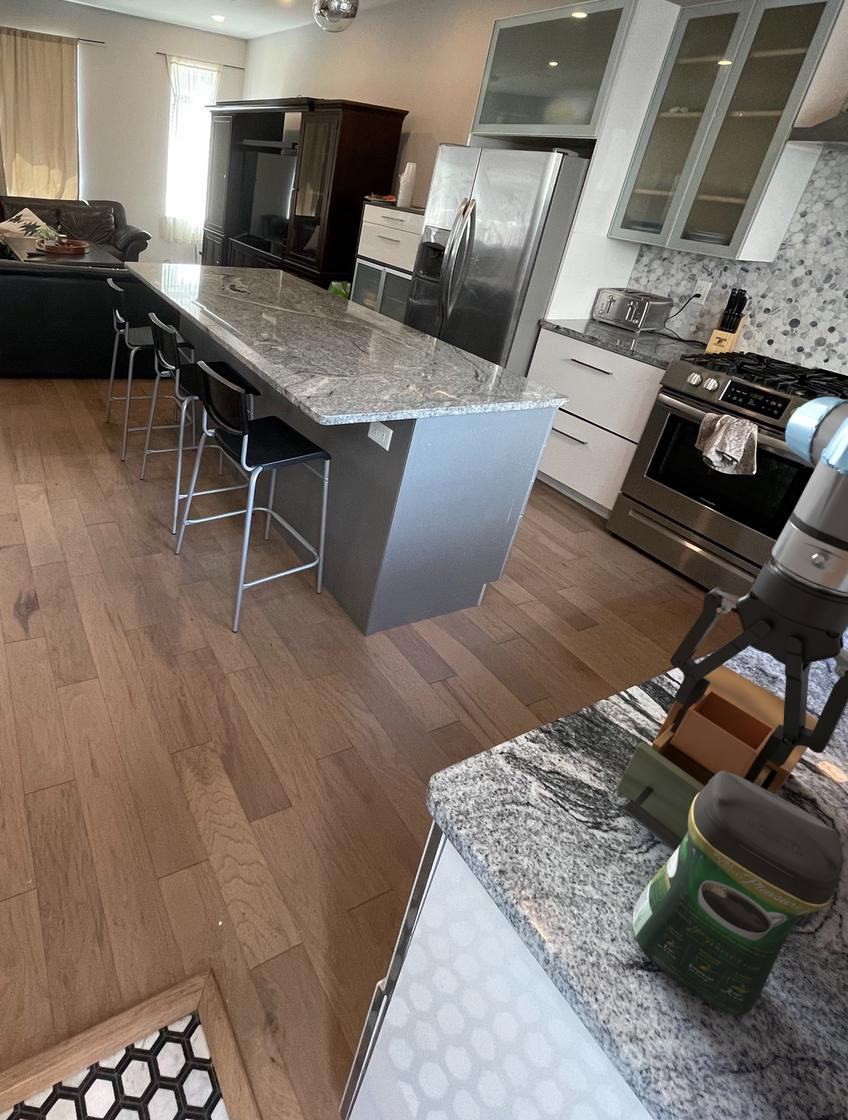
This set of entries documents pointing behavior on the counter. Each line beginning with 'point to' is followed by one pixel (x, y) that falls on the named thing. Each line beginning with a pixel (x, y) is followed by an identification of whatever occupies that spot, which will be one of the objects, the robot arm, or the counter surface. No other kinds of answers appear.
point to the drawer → (665, 788)
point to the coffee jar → (735, 891)
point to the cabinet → (757, 705)
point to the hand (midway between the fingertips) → (713, 751)
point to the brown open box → (721, 735)
